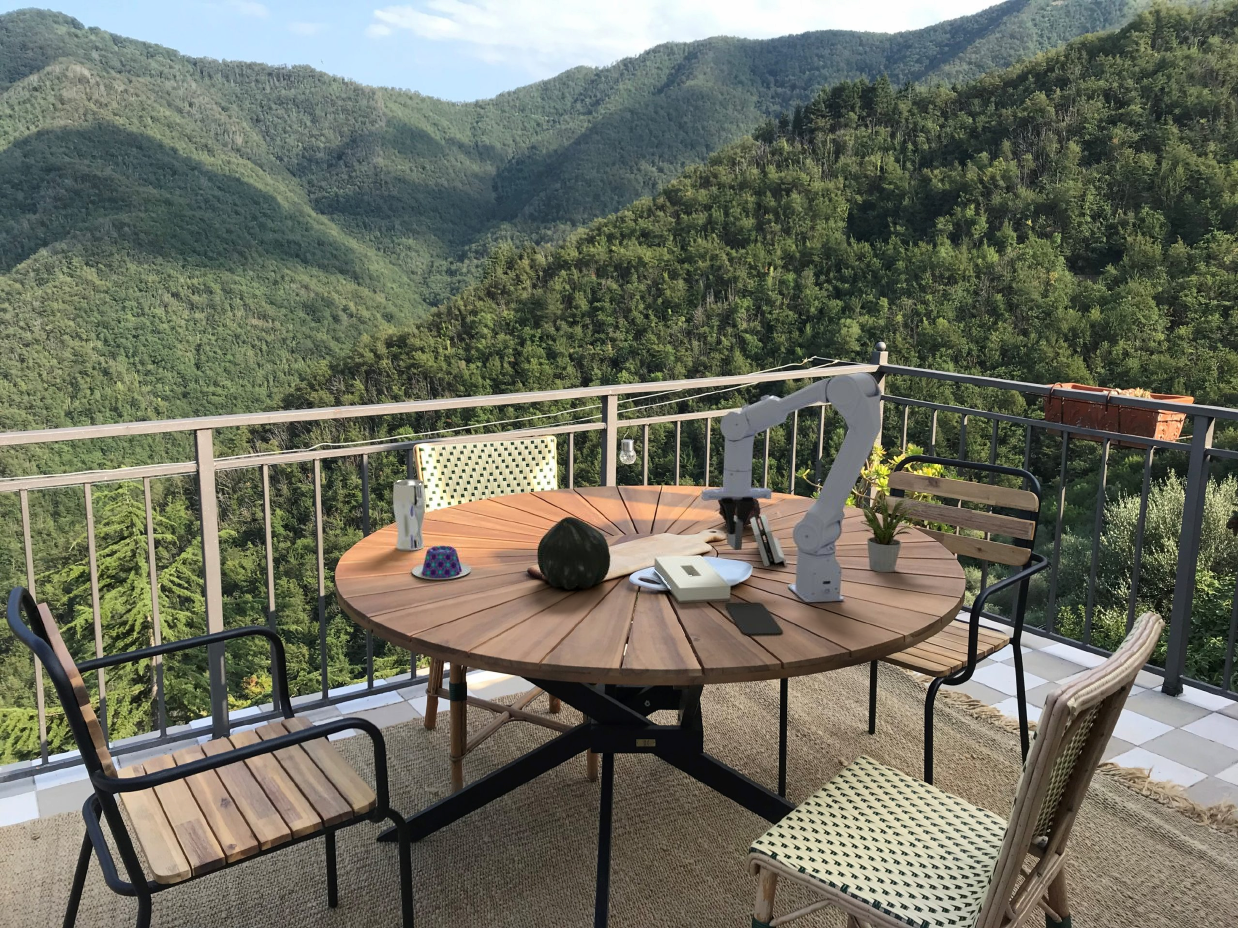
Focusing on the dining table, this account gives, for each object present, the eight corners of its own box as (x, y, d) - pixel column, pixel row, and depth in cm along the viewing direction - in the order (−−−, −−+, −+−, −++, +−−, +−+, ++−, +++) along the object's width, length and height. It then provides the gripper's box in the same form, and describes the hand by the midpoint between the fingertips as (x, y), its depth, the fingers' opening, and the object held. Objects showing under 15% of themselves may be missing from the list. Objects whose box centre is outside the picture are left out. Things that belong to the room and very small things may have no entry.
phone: (742, 633, 148) (723, 602, 163) (742, 638, 149) (723, 606, 163) (784, 632, 149) (762, 602, 164) (784, 637, 149) (761, 606, 164)
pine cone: (771, 536, 212) (773, 496, 210) (732, 537, 210) (734, 497, 208) (746, 518, 229) (747, 481, 227) (710, 519, 227) (711, 482, 225)
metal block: (741, 549, 179) (743, 521, 178) (734, 550, 178) (736, 522, 177) (733, 542, 184) (735, 515, 182) (726, 542, 183) (728, 515, 182)
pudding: (402, 570, 180) (402, 546, 179) (455, 561, 187) (455, 538, 186) (427, 586, 171) (426, 560, 170) (481, 576, 178) (481, 551, 177)
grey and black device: (787, 566, 188) (774, 524, 186) (766, 572, 188) (753, 530, 187) (779, 545, 204) (767, 505, 203) (760, 551, 205) (747, 511, 203)
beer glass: (387, 548, 194) (386, 483, 192) (408, 541, 201) (407, 478, 198) (411, 553, 191) (410, 487, 188) (432, 545, 197) (431, 481, 195)
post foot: (729, 600, 166) (730, 585, 165) (679, 603, 164) (679, 587, 163) (699, 568, 185) (700, 555, 184) (654, 570, 183) (654, 557, 182)
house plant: (920, 562, 193) (927, 491, 190) (924, 581, 180) (931, 505, 177) (854, 556, 196) (859, 486, 193) (853, 574, 183) (859, 499, 180)
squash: (607, 543, 183) (563, 495, 177) (634, 566, 169) (587, 515, 163) (558, 590, 181) (512, 543, 175) (581, 617, 168) (532, 567, 162)
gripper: (764, 464, 183) (760, 526, 186) (698, 466, 180) (695, 529, 183) (776, 471, 176) (773, 535, 179) (708, 472, 174) (705, 538, 176)
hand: (734, 533), depth 180 cm, fingers closed on metal block
